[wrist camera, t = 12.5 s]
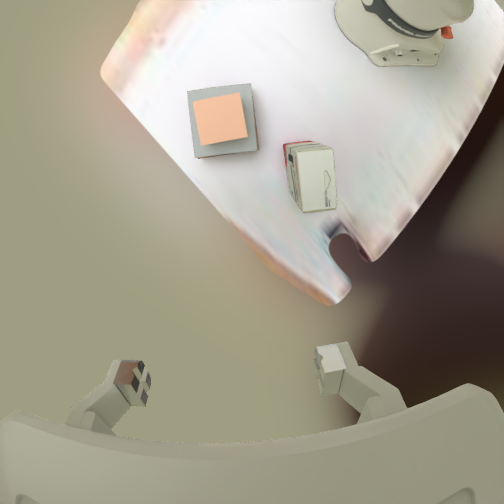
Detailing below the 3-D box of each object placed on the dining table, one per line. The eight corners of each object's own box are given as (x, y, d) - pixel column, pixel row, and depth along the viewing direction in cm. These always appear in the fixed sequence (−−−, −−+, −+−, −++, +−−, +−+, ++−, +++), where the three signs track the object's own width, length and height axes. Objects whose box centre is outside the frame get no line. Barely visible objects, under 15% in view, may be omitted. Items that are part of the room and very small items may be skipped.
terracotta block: (239, 98, 30) (239, 92, 25) (246, 135, 33) (247, 137, 27) (200, 105, 31) (192, 101, 25) (207, 142, 33) (201, 145, 27)
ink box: (281, 143, 42) (296, 150, 32) (310, 140, 42) (334, 146, 32) (288, 192, 46) (303, 215, 36) (315, 189, 46) (338, 210, 36)
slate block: (249, 88, 34) (250, 83, 30) (254, 147, 38) (257, 150, 34) (193, 95, 34) (187, 91, 30) (200, 153, 38) (194, 157, 34)
